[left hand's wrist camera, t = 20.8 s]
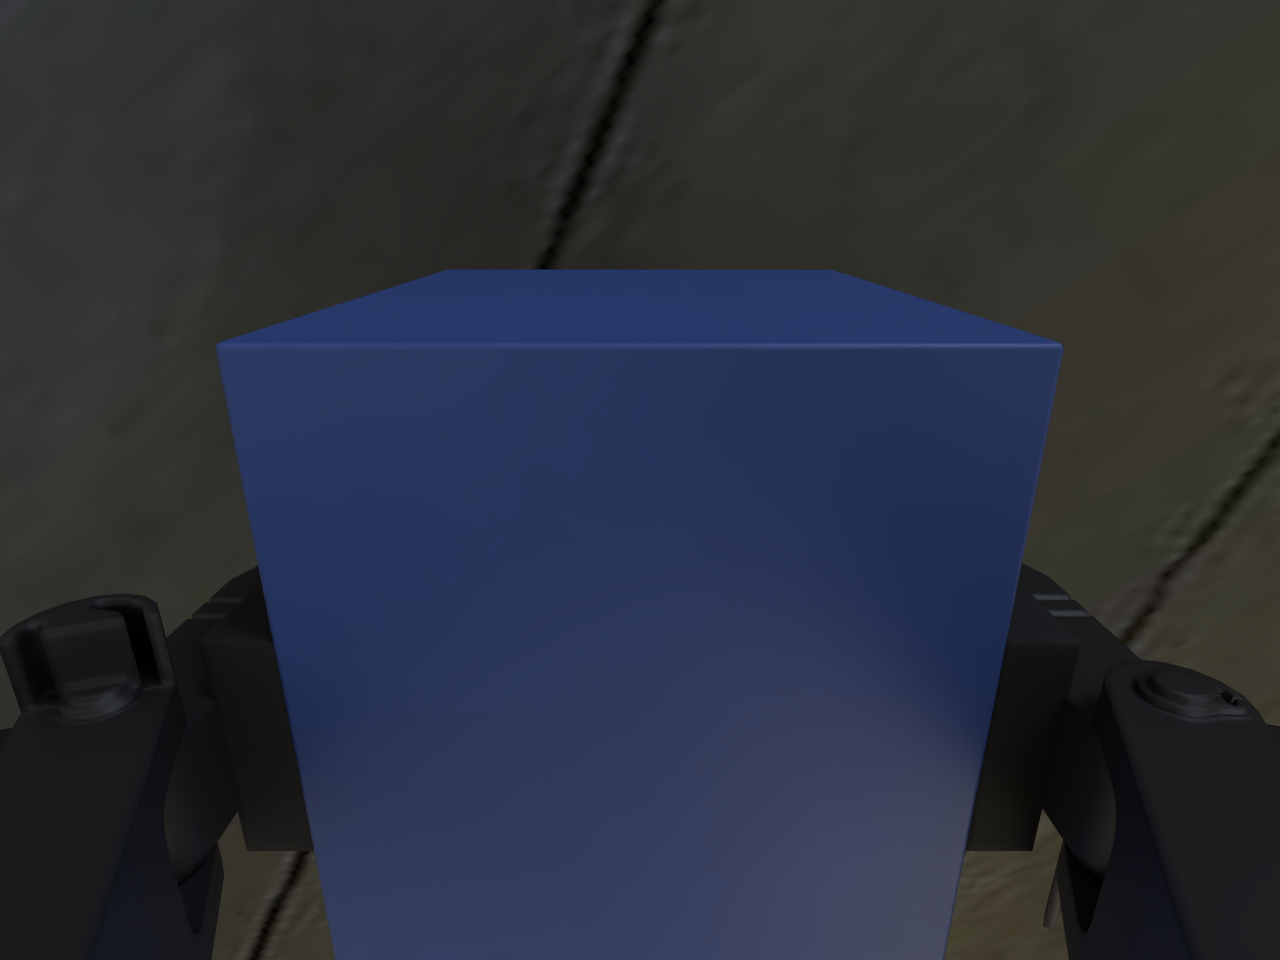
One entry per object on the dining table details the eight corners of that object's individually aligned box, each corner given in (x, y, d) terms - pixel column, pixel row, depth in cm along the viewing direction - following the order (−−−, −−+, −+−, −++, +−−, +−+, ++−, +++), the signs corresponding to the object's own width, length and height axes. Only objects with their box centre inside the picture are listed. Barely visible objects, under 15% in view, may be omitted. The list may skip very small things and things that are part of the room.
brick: (834, 269, 14) (1068, 343, 6) (800, 668, 17) (930, 1042, 9) (445, 269, 14) (211, 342, 6) (479, 667, 17) (349, 1042, 9)
